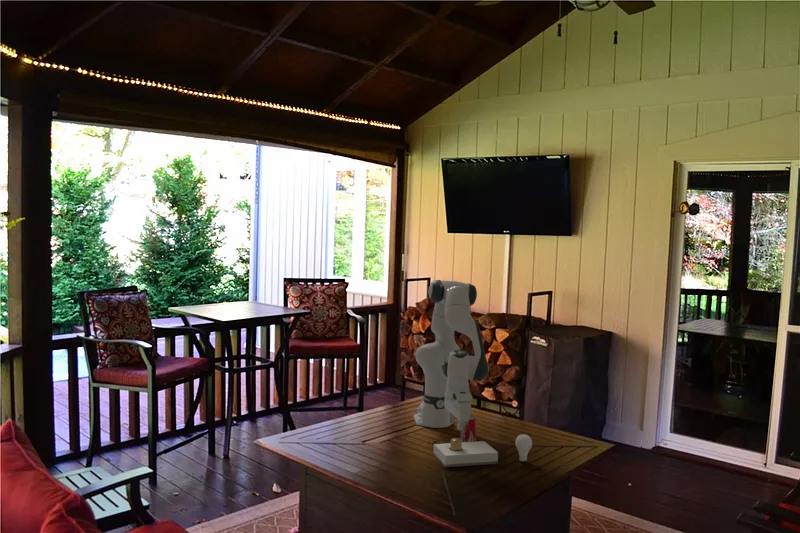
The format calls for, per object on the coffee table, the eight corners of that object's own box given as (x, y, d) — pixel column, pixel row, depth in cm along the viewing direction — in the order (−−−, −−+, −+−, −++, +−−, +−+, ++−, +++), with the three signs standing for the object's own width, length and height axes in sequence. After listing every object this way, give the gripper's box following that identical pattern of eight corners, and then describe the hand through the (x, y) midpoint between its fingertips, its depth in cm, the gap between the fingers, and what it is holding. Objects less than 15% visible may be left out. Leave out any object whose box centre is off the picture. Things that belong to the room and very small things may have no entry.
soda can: (475, 447, 267) (476, 419, 266) (458, 446, 268) (459, 418, 268) (476, 442, 274) (477, 415, 273) (460, 441, 275) (461, 414, 275)
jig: (433, 455, 256) (433, 444, 256) (483, 451, 262) (483, 441, 262) (445, 467, 243) (445, 455, 243) (497, 463, 249) (498, 452, 249)
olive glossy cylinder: (448, 455, 253) (449, 438, 253) (458, 455, 254) (459, 437, 254) (452, 459, 249) (453, 441, 249) (462, 458, 250) (463, 440, 250)
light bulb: (511, 459, 254) (512, 432, 253) (525, 458, 256) (526, 431, 256) (520, 465, 247) (521, 438, 247) (534, 463, 250) (535, 436, 250)
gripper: (441, 385, 259) (439, 418, 260) (458, 398, 240) (456, 434, 241) (455, 385, 261) (454, 417, 262) (474, 398, 241) (472, 433, 242)
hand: (455, 426), depth 251 cm, fingers open, 8 cm apart
